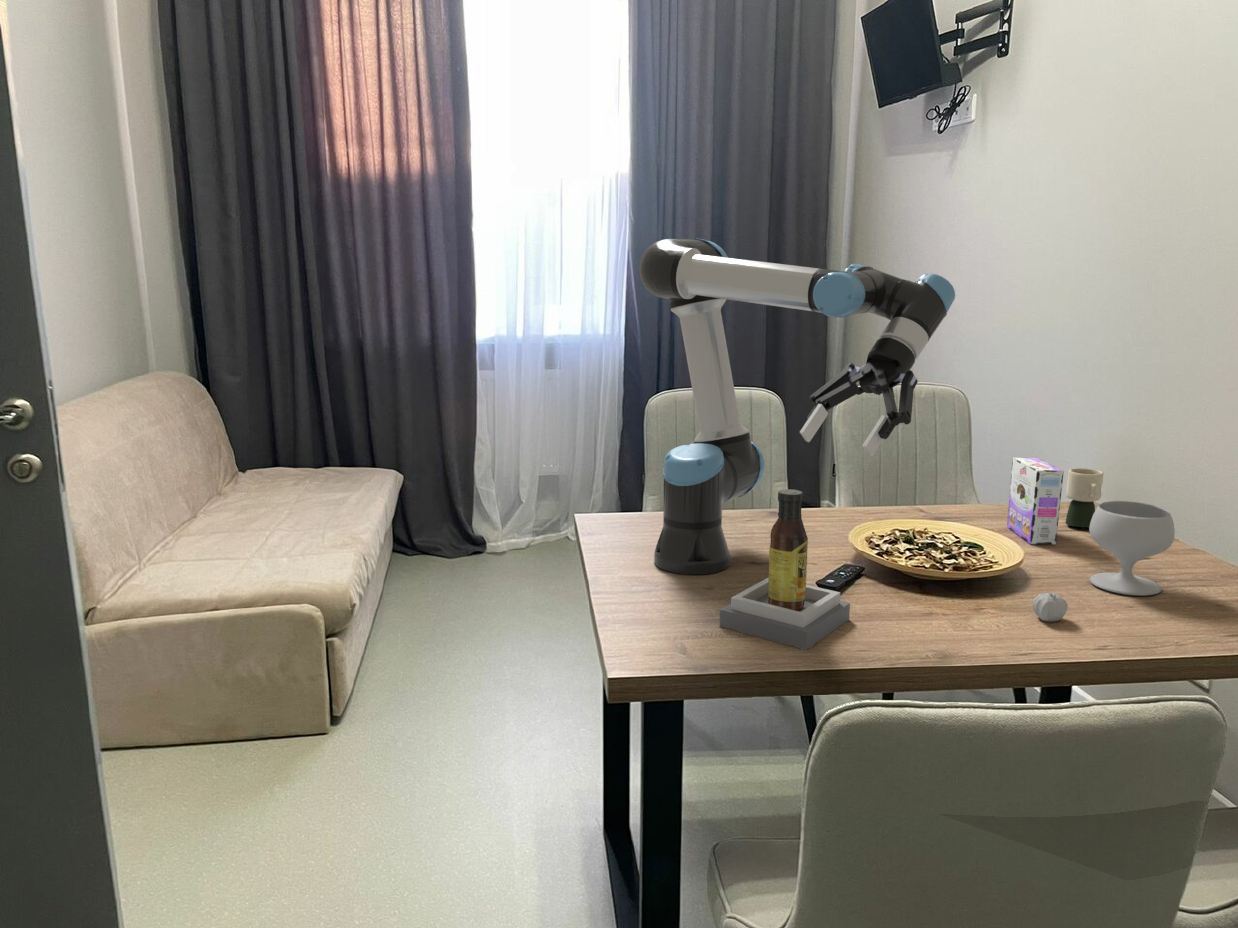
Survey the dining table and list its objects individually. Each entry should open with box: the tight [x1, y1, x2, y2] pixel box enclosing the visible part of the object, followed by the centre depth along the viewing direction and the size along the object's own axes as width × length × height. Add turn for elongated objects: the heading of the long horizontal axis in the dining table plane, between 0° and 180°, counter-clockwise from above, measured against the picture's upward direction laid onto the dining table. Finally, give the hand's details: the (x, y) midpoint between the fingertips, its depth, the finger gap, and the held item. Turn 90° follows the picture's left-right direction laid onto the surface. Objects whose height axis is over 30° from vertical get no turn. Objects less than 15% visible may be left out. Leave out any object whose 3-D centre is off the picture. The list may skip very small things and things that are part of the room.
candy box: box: [1006, 457, 1065, 546], centre depth 211 cm, size 14×6×16 cm, turn 179°
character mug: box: [1064, 467, 1104, 529], centre depth 218 cm, size 11×7×13 cm, turn 178°
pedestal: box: [719, 576, 851, 651], centre depth 163 cm, size 16×16×5 cm
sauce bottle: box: [767, 488, 809, 611], centre depth 161 cm, size 6×6×20 cm
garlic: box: [1032, 591, 1069, 622], centre depth 165 cm, size 6×5×5 cm
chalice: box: [1088, 500, 1176, 597], centre depth 179 cm, size 14×14×15 cm
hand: (834, 444), depth 163 cm, fingers open, 13 cm apart
